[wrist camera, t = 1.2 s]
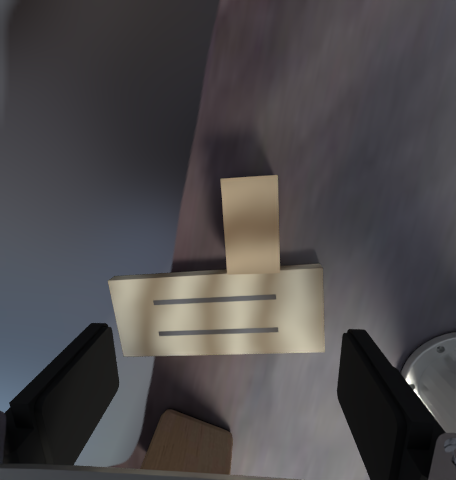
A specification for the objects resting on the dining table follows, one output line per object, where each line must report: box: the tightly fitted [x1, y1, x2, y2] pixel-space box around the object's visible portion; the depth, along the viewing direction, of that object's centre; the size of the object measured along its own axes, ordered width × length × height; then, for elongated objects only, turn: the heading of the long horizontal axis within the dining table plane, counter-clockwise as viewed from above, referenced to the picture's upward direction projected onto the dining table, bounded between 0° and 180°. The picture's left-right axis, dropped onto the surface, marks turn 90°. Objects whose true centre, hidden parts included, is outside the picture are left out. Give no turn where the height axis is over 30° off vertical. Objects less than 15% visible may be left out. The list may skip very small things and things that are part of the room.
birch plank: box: [108, 264, 325, 357], centre depth 31 cm, size 24×10×2 cm, turn 96°
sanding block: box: [221, 175, 280, 275], centre depth 27 cm, size 9×5×5 cm, turn 4°
